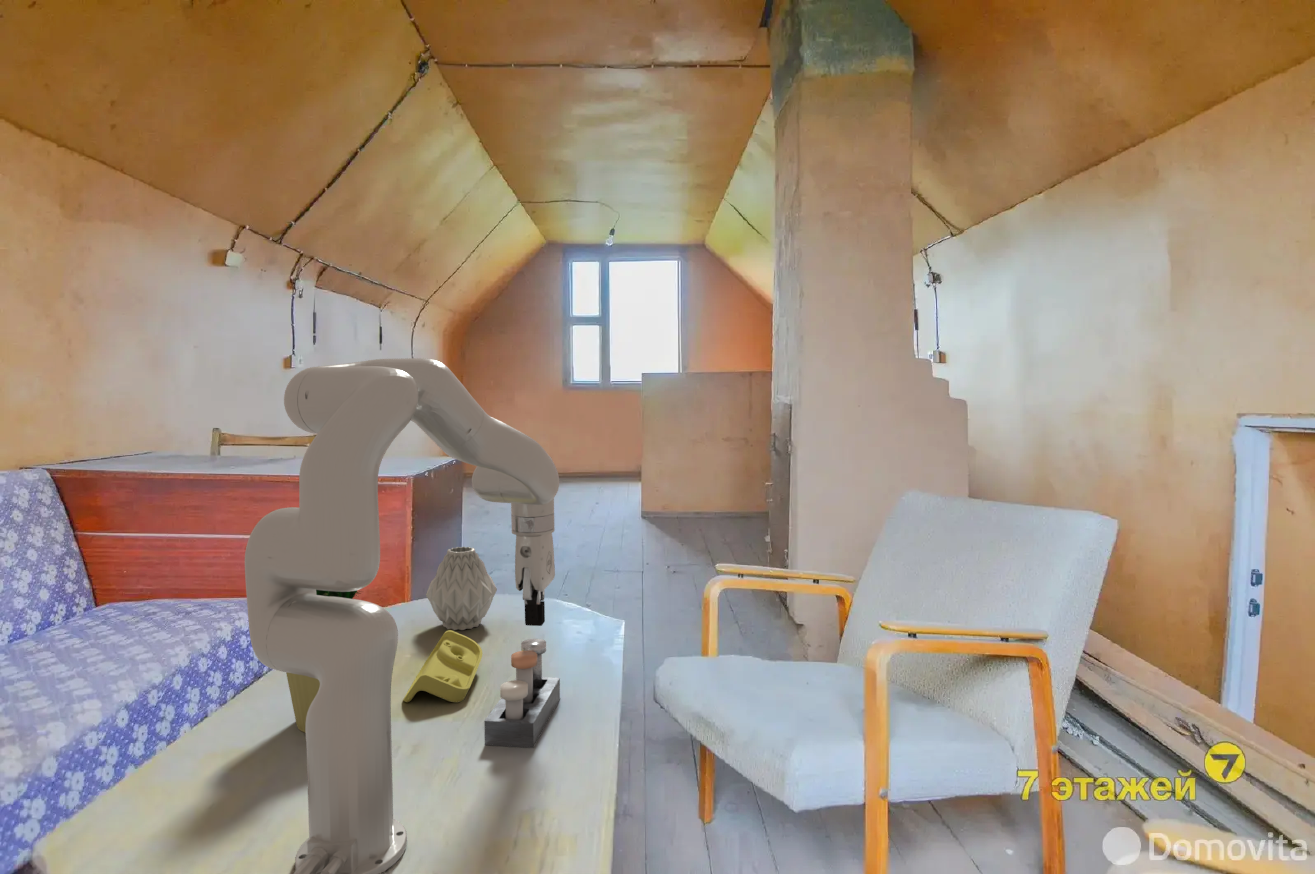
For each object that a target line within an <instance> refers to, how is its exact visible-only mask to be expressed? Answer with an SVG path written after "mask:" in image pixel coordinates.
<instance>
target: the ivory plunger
mask: <svg viewBox="0 0 1315 874" xmlns="http://www.w3.org/2000/svg"><path fill="white" fill-rule="evenodd" d="M499 688H500V689H499V691H500V692H499V694H500V695H499V696H500V699H501V698H502V699H504V700H505V704H506V719H517V720H523V698H525V697H526V696H527V695H528V684H527V683H526V682H524V681H520V680H515V679H513V680H508V681H505V682H503V683H501V684H500V686H499Z"/></svg>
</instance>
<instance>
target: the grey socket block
mask: <svg viewBox="0 0 1315 874" xmlns="http://www.w3.org/2000/svg"><path fill="white" fill-rule="evenodd" d="M560 679H561V678H560V677H549V676H548V677H546V676H542V689H535V688H533V704H532V703H523V720H517V719H506V704H505V700H504V699H502V698H501V697H500V699H499V700H498V702H497V703H496V704H495V706H494V707H493V709H492V710H491V711H490V713H489V714H488V715H487V716H486V718H485V719H484V722H483V723H484V727H483V728H484V746H492V747H494V746H496V747H498V746H499V747H514V748H516V747H517V748H531V749H532V748H534V747H535V746H536V744H537V742H538V740H539V739H540V737H541V735H542V733H543V731H544V730H545V728H546V725H547V724H548V722H549V720H550V718H551V716H552V714H553V713H554V710H555V709H556V708H557V705H558V704H559V702H560V699H561V686H560V685H561V683H560V682H561V680H560ZM514 680H516V677H515V679H514Z"/></svg>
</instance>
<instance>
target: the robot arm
mask: <svg viewBox="0 0 1315 874" xmlns="http://www.w3.org/2000/svg"><path fill="white" fill-rule="evenodd" d="M283 405H284V409H285V413H286V414H287V417H288V418H289V419H290V421H291V422H292V424H294V425H295V426H296V427H297V428H300V429H301V430H302V431H305V432H308V433H311V434H315V435H316V436H315V437H314V438H313V440H312V441H311V442H310V444H309V446H308V447H307V449H306V451H305V453H304V455H303V457H302V461H301V465H300V469H299V477H298V479H299V482H298V485H299V487H298V488H299V493H298V494H299V497H298V499H299V503H298V504H299V505H298V507H296V506H295V507H291V506H290V507H282V508H278V509H275V510H273V511H271V512H269V513H267V514H265V515H264V516H263V517H262V518H261V519H259V520H258V521H257V523H256V524H255V526H254V527H253V529H252V531H251V533H250V535H249V537H248V540H247V543H246V546H245V551H244V577H245V591H246V592H245V595H246V603H247V604H246V605H247V619H248V621H247V622H248V631H249V639H250V643H251V644H250V645H251V647H252V650H253V653H254V655H255V657H256V658H257V660H258V661H259V662H260V663H261V664H262V665H264V666H265V667H267V668H269V669H271V670H275V671H279V672H284V673H286V672H287V673H293V674H298V675H304V676H308V677H311V678H316V679H318V680H319V681H320V687H319V690H318V693H317V695H316V696H315V698H314V700H313V702H312V703H311V705H310V707H309V710H308V712H307V717H306V727H305V731H306V733H305V741H306V742H305V744H306V746H305V747H306V773H307V806H308V809H307V810H308V833H309V834H308V838H306V840H305V841H304V842H303V843H302V844H300V846H299V848H298V850H297V851H296V854H295V857H294V858H295V863H294V864H295V865H294V866H295V871H294V873H293V874H382V873H384V872H386V870H387V871H388V870H389V869H390V868H391V867H393V866H394V865H395V864H396V863H397V862H398V861H399V860H400V858H401V857H402V855H403V854H404V853H405V850H406V848H407V845H408V844H407V842H408V836H407V835H408V834H407V829H406V828H405V825H403V824H402V823H401V821H398V820H397V819H395V818H394V795H393V794H394V792H393V791H394V788H393V787H394V785H393V752H392V751H393V749H392V748H393V747H392V742H393V741H392V718H391V717H392V714H391V713H392V711H391V709H392V708H391V707H392V706H391V704H392V701H391V697H392V680H393V673H394V665H395V660H396V656H397V648H398V643H399V630H398V625H397V622H396V620H395V618H394V617H393V615H392V614H391V613H390V611H388V610H387V609H386V608H384V607H382V606H380V605H378V604H376V603H373V602H371V601H366V600H362V599H355V598H352V599H349V598H341V597H328V596H321V595H316V590H323V591H336V592H350V591H355V590H357V591H360V590H362V589H364V588H366V587H368V586H369V585H370V584H371V583H372V582H373V581H374V580H375V578H376V577H377V574H378V573H379V569H380V564H381V536H380V533H381V532H380V513H379V494H378V493H379V485H378V484H379V471H380V466H381V464H382V461H383V459H384V456H385V454H386V452H387V451H388V449H389V447H390V446H391V445H392V443H393V442H394V441H395V440H396V438H397V437H398V435H400V434H401V432H402V431H403V430H404V429H405V428H406V427H407V425H408V424H409V423H410V422H411V421H412V422H413V423H414V424H415V425H417V427H418V428H419V429H421V431H422V432H424V434H426V436H427V437H428V438H429V439H430V440H432V442H434V443H435V445H437V447H439V448H440V450H441V451H442V452H443V453H445V455H446V456H449V457H450V458H452V459H455V460H457V461H460V462H463V463H465V464H469V465H472V466H475V469H474V470H473V473H472V476H471V486H472V489H473V491H474V493H475V494H476V495H477V496H478V497H479V498H481V499H482V500H484V501H487V502H492V503H501V504H510V505H511V506H510V507H511V508H510V511H511V512H510V514H511V517H510V520H511V534H513V535H515V552H514V553H515V555H514V557H515V558H514V559H515V560H514V578H515V579H514V580H515V588H516V589H517V590H518V591H519V592H521V591H522V600H523V602H524V625H525V626H531V627H533V626H535V627H539V626H540V627H541V626H543V625H544V623H545V622H546V619H545V618H546V615H545V614H546V612H545V610H546V609H545V608H546V607H545V605H546V604H545V590H546V589H547V588H548V586H549V585H550V584H551V583H552V581H553V580H554V579H555V576H556V568H555V565H556V564H555V552H554V551H555V550H554V540H553V539H554V538H553V533H554V532H555V530H556V529H555V497H556V495H557V494H558V491H559V487H560V477H559V472H558V469H557V467H556V464H555V463H554V460H553V458H552V457H551V456H550V455H549V454H548V452H547V451H546V450H545V448H544V447H543V446H542V445H541V444H540V443H539V442H538V441H536V440H535V439H534V438H532V437H531V436H529V435H527V434H525V433H524V432H522V431H520V430H519V429H516V428H515V427H512V426H510V425H509V424H507V423H505V422H503V421H501V420H499V419H497V418H494V417H492V416H491V415H489V414H488V413H487V412H486V411H485V410H484V408H482V405H480V404H479V403H478V401H477V400H476V399H475V398H474V397H473V396H472V395H471V394H470V392H469V391H468V390H467V388H466V387H465V386H464V384H463V383H462V382H461V381H460V380H459V379H458V378H457V376H456V375H455V373H453V371H451V369H450V368H449V367H448V366H447V365H445V364H444V363H443V362H441V361H438V360H435V359H432V358H424V357H423V358H421V357H419V358H418V357H416V358H415V357H413V358H412V357H411V358H408V357H407V358H379V359H369V360H361V361H355V362H348V363H336V364H330V365H321V366H320V365H318V366H311V367H307V368H305V369H303V370H300V371H299V372H298V373H296V374H294V375H293V377H292V378H291V379H290V380H289V382H288V384H287V385H286V388H285V390H284V394H283Z"/></svg>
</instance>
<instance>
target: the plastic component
mask: <svg viewBox="0 0 1315 874" xmlns="http://www.w3.org/2000/svg"><path fill="white" fill-rule="evenodd" d="M482 657H483V649H482V647H481V646H480V644H479V643H477V642H476V641H475V640H473V639H472V638H471V637H468V636H466V635H464V634H461V633H459V632H457V631H455V630H453V629H447V630H446V631H445V632H444V633H443V634H442V636H440V639H439V640H438V641H437V643H436V645H435V646H434V648H433V649H432V651H431V652H430V654H429V655H428V657H427V659H426V660H425V662H424V664H423V665H422V667H420V670H419V672H418V673H417V674H416V676H415V678H414V679H413V682H412V683H411V685H410V686H409V688H408V691H407V692H406V694H405V696H404V698H403V699H402V701H403V702H405V703H410V702H411V701H412V699H413V698H414V697H415V696H416V694H417V693H418V692H420V691H423V692H427V693H429V694H430V695H433V696H435V697H438V698H441V699H443V700H445V701H447V702H451V703H457V704H458V703H460V702H462V701H464V700H465V698H466V696H467V695H468V692H469V690H470V688H471V686H472V684H473V681H474V679H475V676H476V674H477V671H478V669H479V666H480V663H481V661H482Z"/></svg>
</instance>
